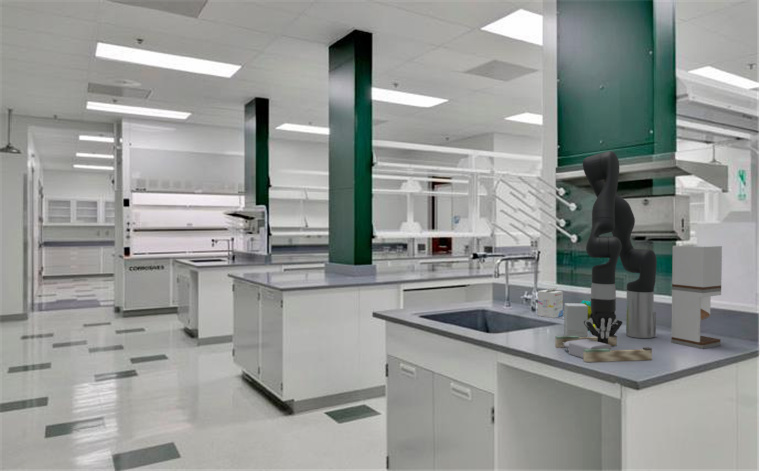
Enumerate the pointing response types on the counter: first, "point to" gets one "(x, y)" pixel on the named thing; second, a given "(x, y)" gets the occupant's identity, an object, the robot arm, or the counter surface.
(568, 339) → the railed run
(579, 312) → the supplement box
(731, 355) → the counter surface
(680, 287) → the coffee maker
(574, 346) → the charger
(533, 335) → the counter surface
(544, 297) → the ink box
